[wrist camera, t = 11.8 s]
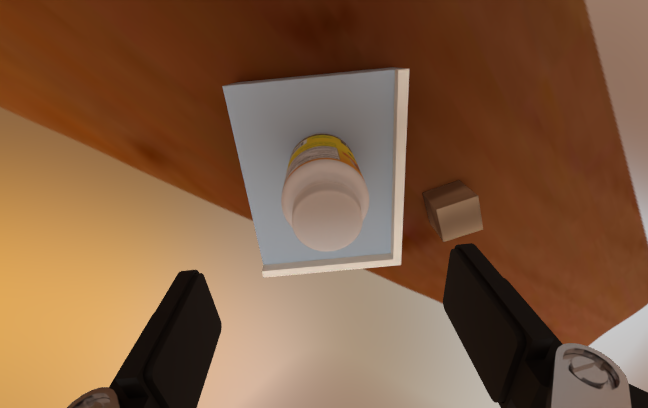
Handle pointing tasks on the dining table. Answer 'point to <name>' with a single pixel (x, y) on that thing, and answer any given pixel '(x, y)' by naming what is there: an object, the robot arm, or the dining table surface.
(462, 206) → the light brown cube
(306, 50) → the dining table surface
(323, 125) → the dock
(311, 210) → the supplement bottle
